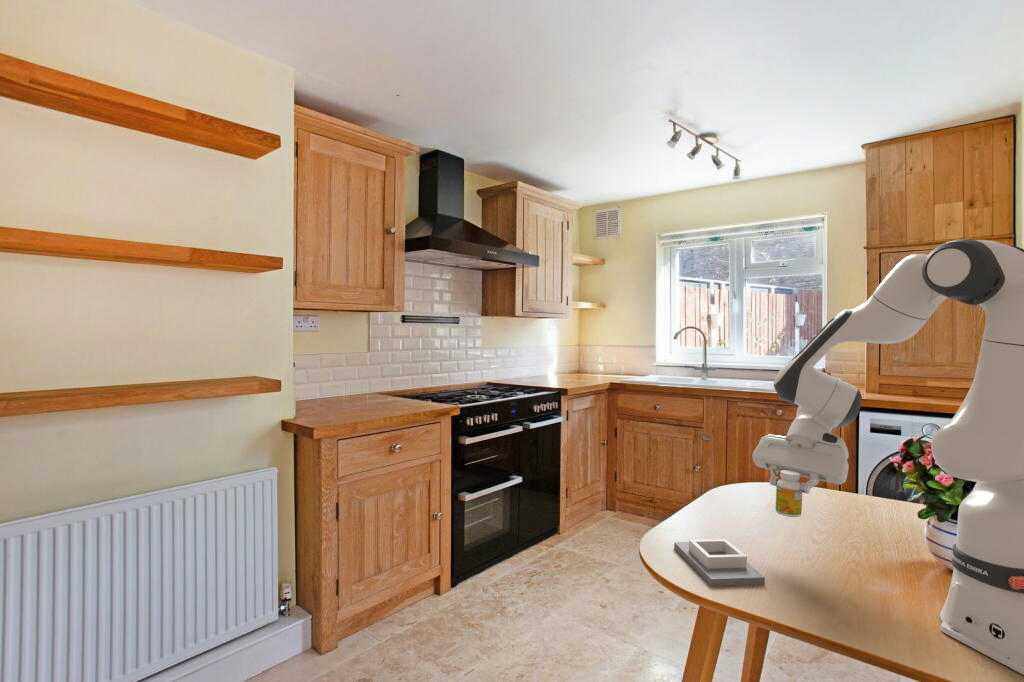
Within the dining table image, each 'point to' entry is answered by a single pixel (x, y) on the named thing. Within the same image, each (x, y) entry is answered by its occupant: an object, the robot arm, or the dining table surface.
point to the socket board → (719, 562)
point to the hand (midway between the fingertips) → (788, 487)
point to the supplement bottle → (789, 494)
